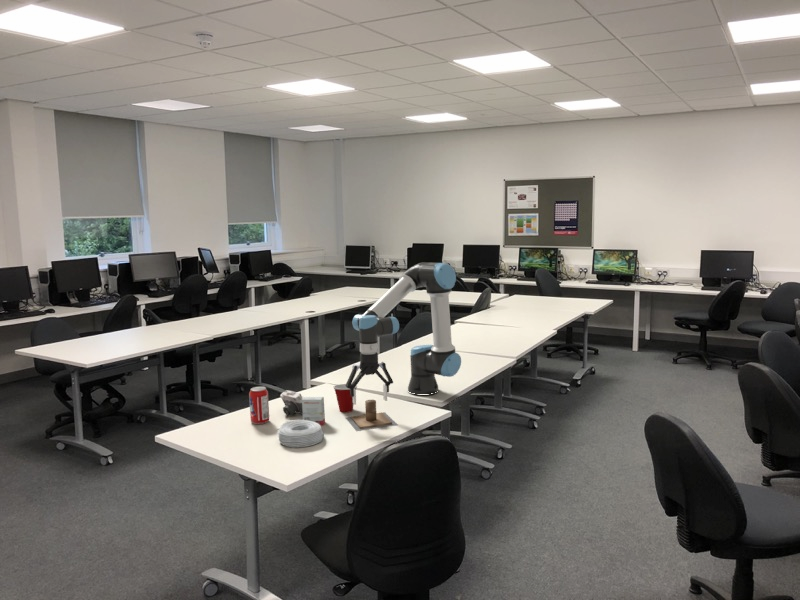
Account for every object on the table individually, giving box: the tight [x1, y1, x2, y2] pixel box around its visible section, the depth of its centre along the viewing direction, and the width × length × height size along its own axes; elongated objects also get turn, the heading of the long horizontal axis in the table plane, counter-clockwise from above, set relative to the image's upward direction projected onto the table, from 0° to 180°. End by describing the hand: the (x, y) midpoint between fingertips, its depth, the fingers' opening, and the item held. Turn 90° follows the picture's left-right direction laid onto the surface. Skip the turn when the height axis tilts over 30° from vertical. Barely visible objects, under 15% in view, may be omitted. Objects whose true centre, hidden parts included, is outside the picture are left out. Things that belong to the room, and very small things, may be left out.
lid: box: [350, 399, 392, 429], centre depth 254 cm, size 14×14×9 cm
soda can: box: [248, 386, 270, 425], centre depth 258 cm, size 8×8×15 cm
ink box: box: [302, 396, 326, 427], centre depth 253 cm, size 9×5×12 cm, turn 84°
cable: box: [277, 419, 324, 449], centre depth 236 cm, size 18×18×6 cm
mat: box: [345, 411, 399, 432], centre depth 254 cm, size 18×18×1 cm
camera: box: [280, 389, 305, 417], centre depth 268 cm, size 9×16×10 cm, turn 48°
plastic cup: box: [333, 383, 358, 413], centre depth 269 cm, size 11×11×12 cm
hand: (370, 401), depth 253 cm, fingers open, 13 cm apart
